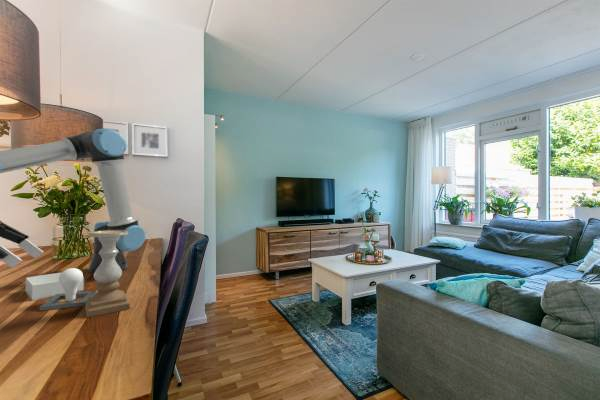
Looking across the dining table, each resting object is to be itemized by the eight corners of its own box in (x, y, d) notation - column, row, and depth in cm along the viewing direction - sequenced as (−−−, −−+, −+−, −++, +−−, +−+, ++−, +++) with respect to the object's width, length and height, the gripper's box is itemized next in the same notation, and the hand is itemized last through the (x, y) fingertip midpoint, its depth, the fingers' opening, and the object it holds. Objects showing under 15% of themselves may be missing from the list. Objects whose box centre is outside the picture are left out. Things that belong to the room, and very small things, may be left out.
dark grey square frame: (55, 298, 92) (55, 294, 92) (96, 293, 97) (96, 290, 97) (39, 310, 82) (39, 306, 82) (86, 305, 86) (86, 301, 86)
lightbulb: (68, 306, 86) (69, 271, 86) (53, 304, 87) (53, 269, 87) (87, 299, 91) (87, 266, 92) (72, 297, 93) (73, 265, 93)
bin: (73, 283, 108) (73, 270, 108) (83, 290, 100) (83, 277, 100) (25, 291, 98) (25, 277, 98) (32, 300, 89) (32, 285, 89)
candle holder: (84, 306, 86) (86, 231, 86) (125, 298, 93) (127, 229, 93) (85, 318, 77) (88, 234, 77) (130, 308, 84) (132, 232, 84)
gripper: (-21, 217, 89) (37, 260, 95) (-90, 224, 66) (-8, 279, 72) (1, 201, 91) (57, 244, 97) (-58, 202, 69) (19, 258, 75)
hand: (29, 259), depth 85 cm, fingers open, 13 cm apart
